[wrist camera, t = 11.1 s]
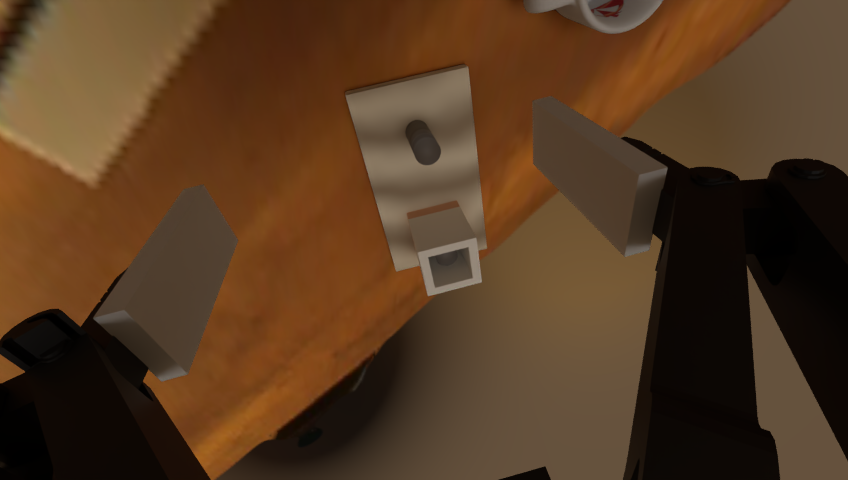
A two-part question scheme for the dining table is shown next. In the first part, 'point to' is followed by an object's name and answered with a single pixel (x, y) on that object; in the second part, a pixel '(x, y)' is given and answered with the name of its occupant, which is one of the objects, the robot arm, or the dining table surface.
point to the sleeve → (445, 247)
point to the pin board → (400, 158)
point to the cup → (599, 12)
